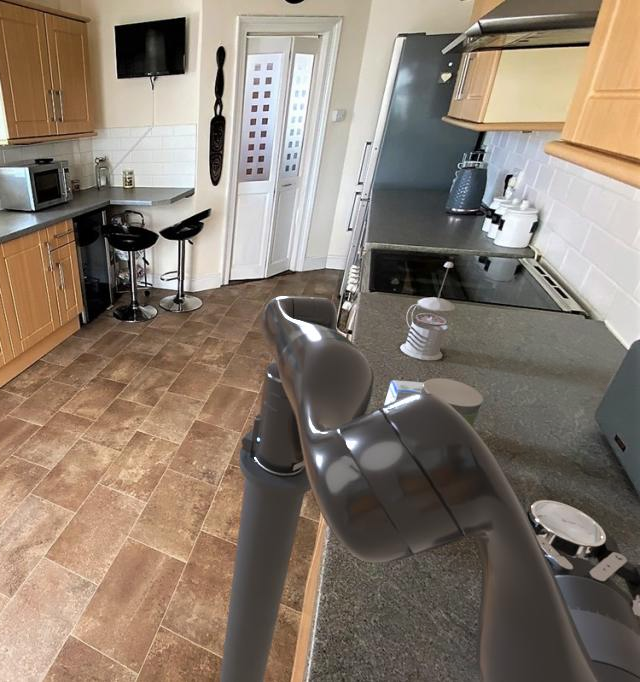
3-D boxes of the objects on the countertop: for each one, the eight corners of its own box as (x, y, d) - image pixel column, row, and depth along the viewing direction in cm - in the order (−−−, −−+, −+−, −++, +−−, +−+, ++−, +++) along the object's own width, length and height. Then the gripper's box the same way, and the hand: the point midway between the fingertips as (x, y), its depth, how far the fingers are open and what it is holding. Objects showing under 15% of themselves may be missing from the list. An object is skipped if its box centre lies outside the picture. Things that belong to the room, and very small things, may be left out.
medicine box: (421, 416, 92) (433, 382, 88) (429, 429, 89) (442, 395, 85) (381, 412, 94) (391, 379, 90) (387, 425, 90) (397, 391, 86)
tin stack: (393, 463, 81) (417, 393, 73) (405, 440, 86) (428, 372, 79) (448, 486, 75) (479, 413, 68) (457, 460, 81) (487, 389, 73)
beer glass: (473, 582, 60) (515, 507, 53) (509, 567, 62) (554, 492, 55) (528, 632, 54) (582, 555, 47) (565, 614, 56) (624, 536, 49)
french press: (420, 362, 112) (451, 270, 100) (386, 342, 122) (410, 256, 110) (451, 357, 113) (485, 265, 102) (416, 337, 124) (442, 252, 112)
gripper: (727, 666, 36) (655, 524, 48) (510, 581, 43) (494, 476, 55) (677, 709, 40) (621, 566, 52) (483, 624, 47) (474, 516, 59)
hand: (556, 520), depth 54 cm, fingers closed on beer glass, 7 cm apart
